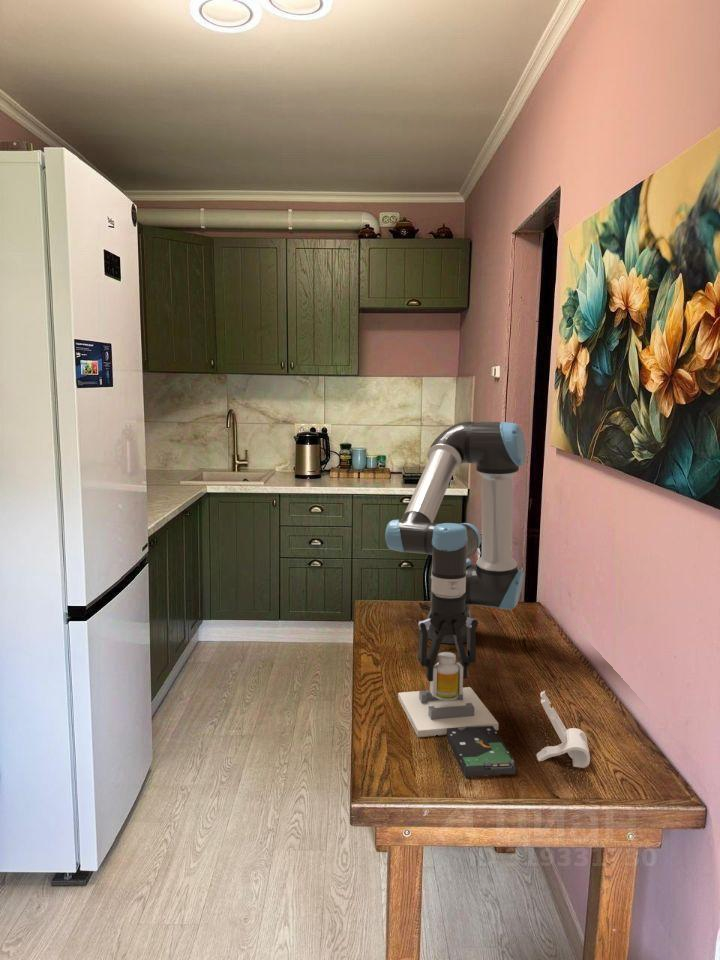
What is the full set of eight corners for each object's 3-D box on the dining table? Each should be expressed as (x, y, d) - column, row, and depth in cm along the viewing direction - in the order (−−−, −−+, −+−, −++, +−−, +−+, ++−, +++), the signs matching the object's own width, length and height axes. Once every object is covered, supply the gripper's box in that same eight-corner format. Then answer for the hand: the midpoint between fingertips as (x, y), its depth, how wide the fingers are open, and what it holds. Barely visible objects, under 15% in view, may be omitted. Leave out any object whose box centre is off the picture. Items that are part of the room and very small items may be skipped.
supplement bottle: (461, 700, 147) (462, 659, 146) (438, 702, 146) (438, 660, 145) (453, 690, 152) (455, 649, 151) (431, 691, 151) (432, 651, 150)
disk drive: (445, 740, 140) (464, 779, 125) (445, 727, 139) (465, 765, 125) (492, 737, 141) (517, 776, 126) (492, 724, 141) (517, 762, 126)
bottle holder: (398, 698, 157) (398, 684, 157) (470, 692, 160) (470, 679, 160) (417, 737, 139) (418, 721, 139) (498, 729, 143) (498, 714, 142)
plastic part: (589, 769, 128) (592, 713, 126) (536, 761, 131) (539, 706, 129) (586, 749, 135) (589, 696, 134) (536, 742, 138) (539, 689, 136)
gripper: (412, 600, 141) (410, 703, 144) (494, 596, 144) (490, 697, 147) (404, 590, 148) (402, 688, 151) (481, 586, 151) (479, 682, 154)
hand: (446, 692), depth 149 cm, fingers closed on supplement bottle, 5 cm apart
